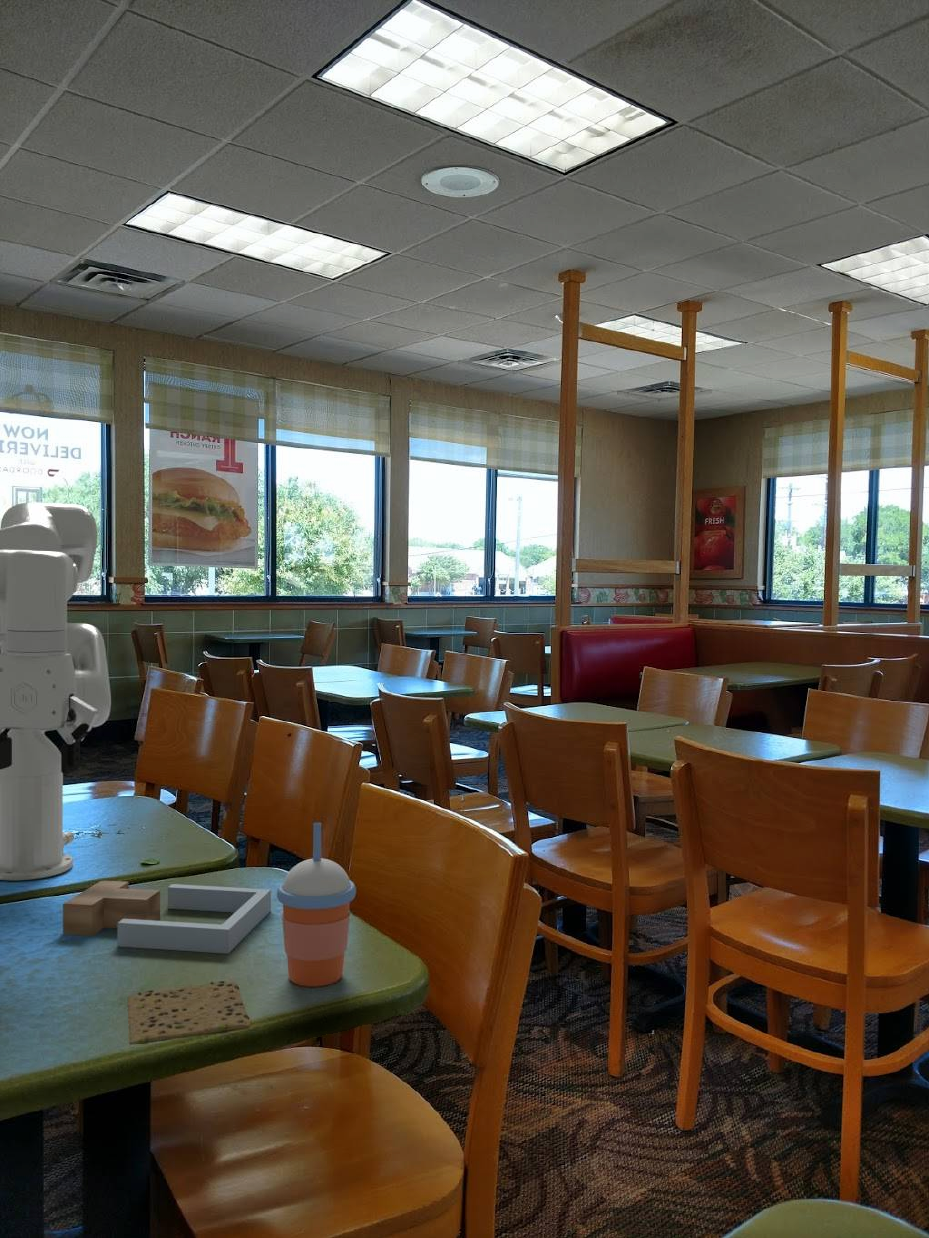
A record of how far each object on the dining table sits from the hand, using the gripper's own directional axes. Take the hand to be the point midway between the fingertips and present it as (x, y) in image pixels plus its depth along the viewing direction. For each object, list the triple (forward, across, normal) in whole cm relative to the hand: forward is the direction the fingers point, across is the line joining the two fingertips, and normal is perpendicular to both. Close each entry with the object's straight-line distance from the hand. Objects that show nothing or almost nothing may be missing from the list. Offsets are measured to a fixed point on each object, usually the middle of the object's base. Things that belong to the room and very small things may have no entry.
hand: (36, 770), depth 129 cm
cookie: (+20, +32, -24) cm, 45 cm away
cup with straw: (+20, +43, -13) cm, 49 cm away
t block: (+20, +12, 0) cm, 23 cm away
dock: (+20, +23, 0) cm, 30 cm away
